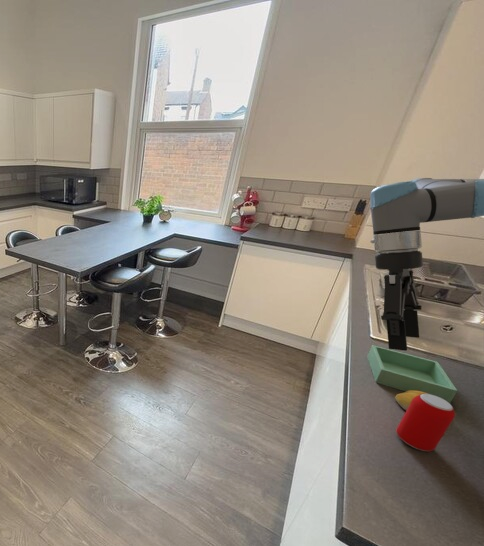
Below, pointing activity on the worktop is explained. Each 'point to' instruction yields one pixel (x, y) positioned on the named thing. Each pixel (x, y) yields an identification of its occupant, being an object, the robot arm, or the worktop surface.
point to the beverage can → (425, 422)
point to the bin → (410, 373)
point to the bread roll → (407, 398)
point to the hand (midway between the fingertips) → (404, 342)
